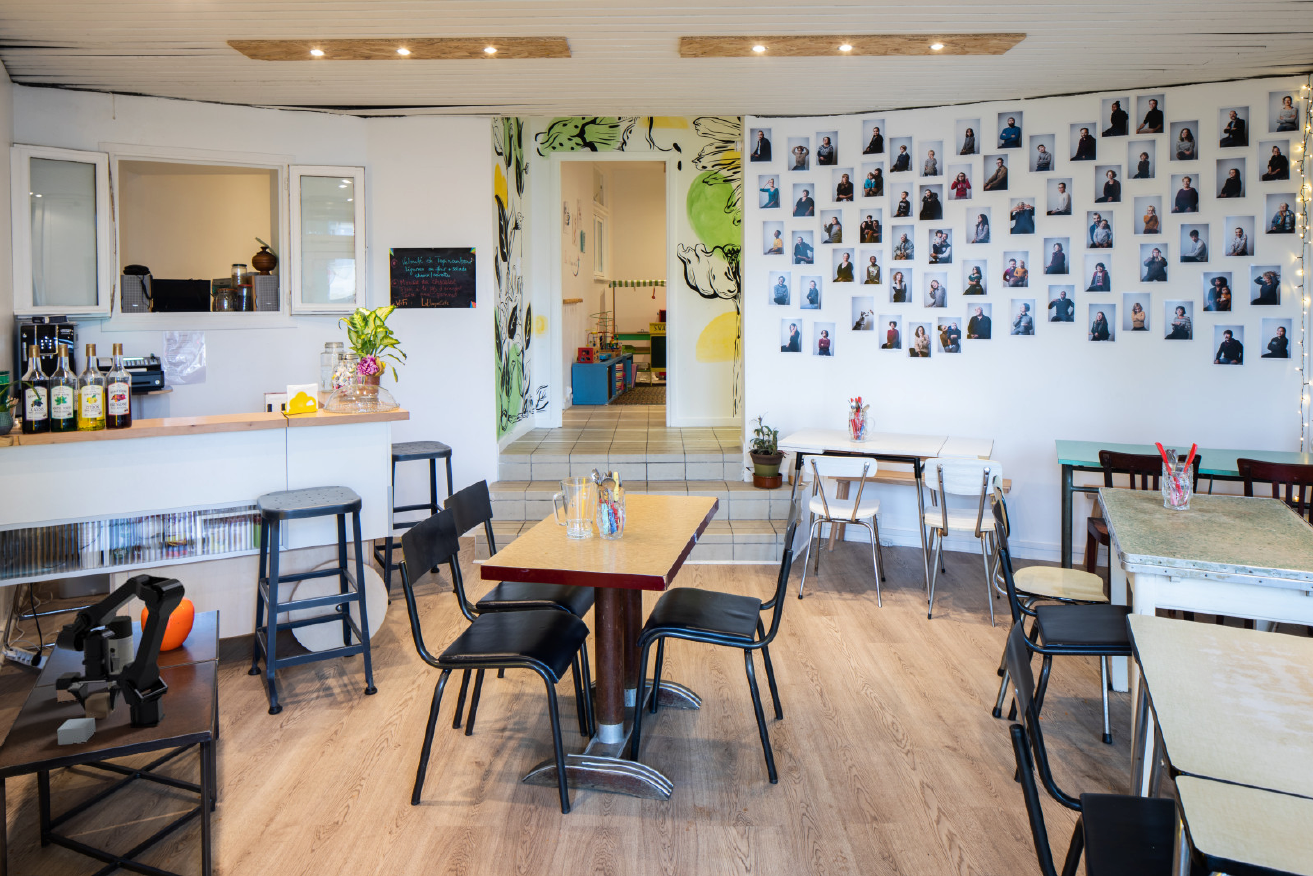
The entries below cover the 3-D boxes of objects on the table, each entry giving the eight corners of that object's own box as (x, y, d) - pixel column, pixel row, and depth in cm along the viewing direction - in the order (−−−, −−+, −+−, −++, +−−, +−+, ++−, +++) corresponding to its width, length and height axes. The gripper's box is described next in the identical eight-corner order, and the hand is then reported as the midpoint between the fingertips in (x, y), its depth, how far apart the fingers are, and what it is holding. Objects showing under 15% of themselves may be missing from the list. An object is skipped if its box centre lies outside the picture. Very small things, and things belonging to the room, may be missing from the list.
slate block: (95, 733, 227) (94, 717, 227) (85, 743, 221) (84, 728, 221) (69, 735, 226) (68, 719, 226) (58, 745, 220) (57, 729, 220)
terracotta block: (81, 693, 252) (80, 679, 251) (79, 700, 247) (78, 686, 247) (59, 697, 249) (58, 683, 249) (57, 703, 245) (56, 689, 244)
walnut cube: (115, 710, 241) (113, 692, 240) (107, 718, 236) (105, 699, 235) (94, 711, 240) (93, 693, 239) (86, 719, 235) (84, 701, 234)
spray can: (110, 684, 258) (106, 616, 256) (137, 681, 260) (133, 613, 258) (105, 693, 252) (101, 623, 249) (133, 690, 254) (129, 620, 252)
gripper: (147, 641, 245) (150, 696, 247) (71, 644, 242) (75, 700, 244) (130, 655, 234) (134, 713, 236) (51, 659, 231) (55, 718, 233)
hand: (100, 710), depth 238 cm, fingers open, 6 cm apart
